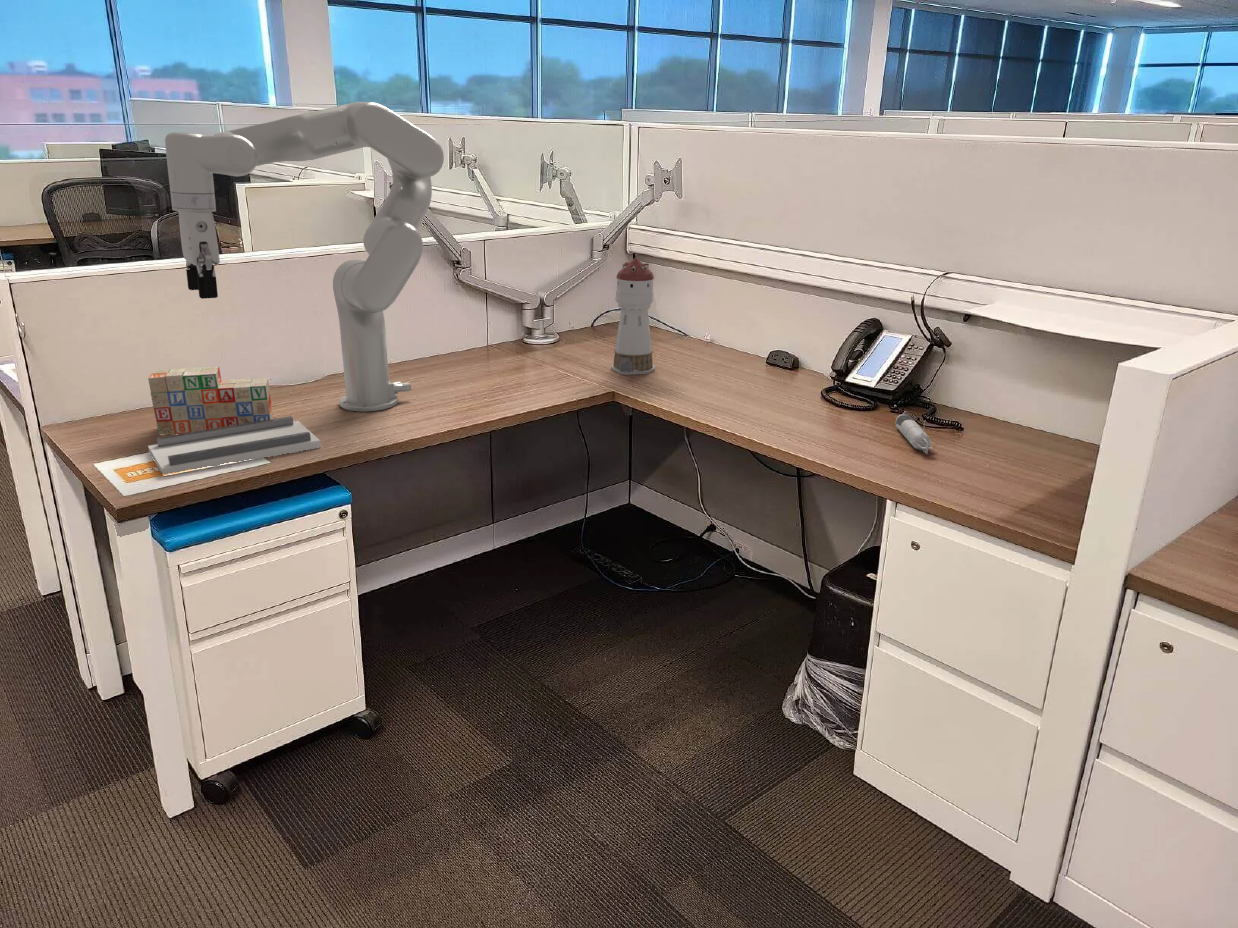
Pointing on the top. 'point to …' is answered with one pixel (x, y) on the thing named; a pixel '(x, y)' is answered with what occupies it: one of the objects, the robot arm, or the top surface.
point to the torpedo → (913, 433)
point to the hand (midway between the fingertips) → (202, 293)
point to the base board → (231, 444)
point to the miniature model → (634, 319)
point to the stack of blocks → (206, 400)
